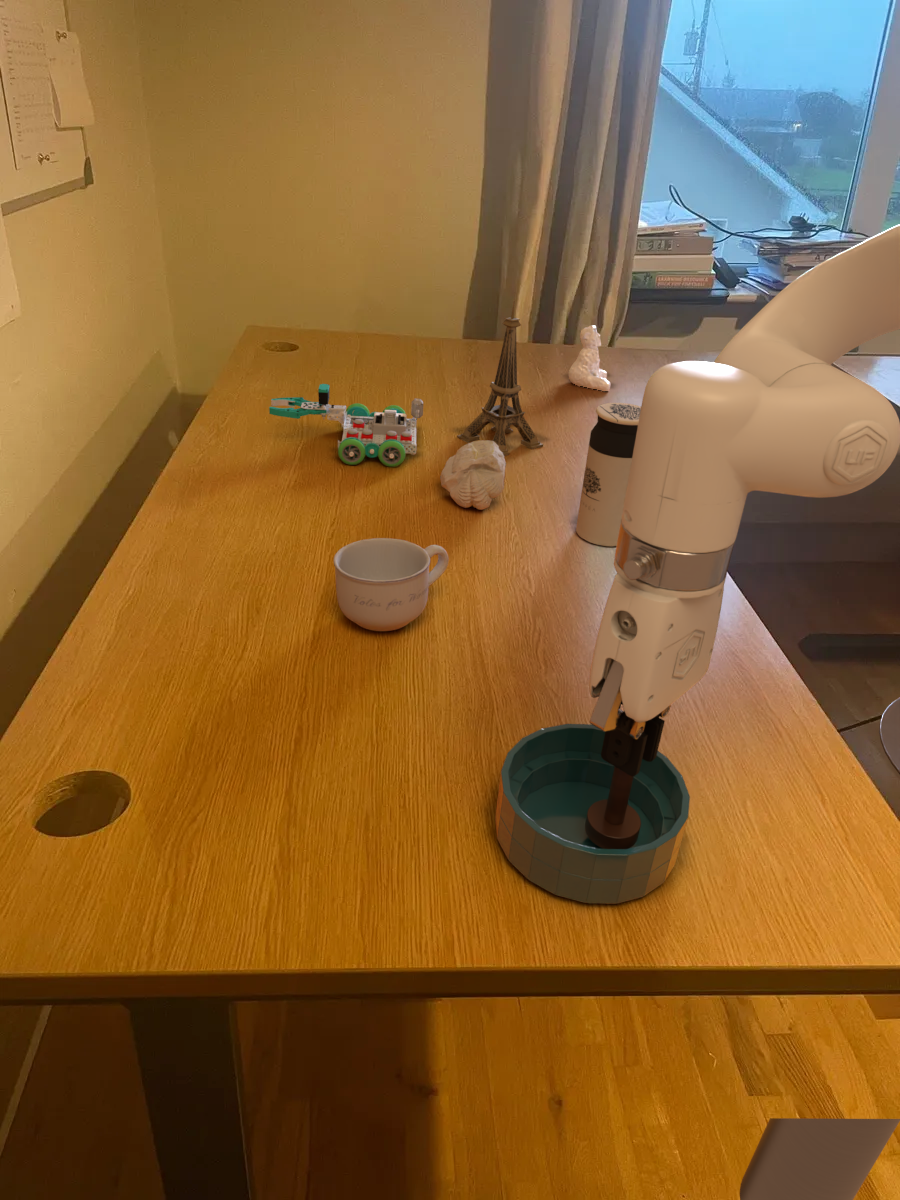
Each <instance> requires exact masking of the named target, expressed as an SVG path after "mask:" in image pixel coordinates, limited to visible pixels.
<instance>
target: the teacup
mask: <svg viewBox="0 0 900 1200" xmlns="http://www.w3.org/2000/svg"><path fill="white" fill-rule="evenodd" d="M435 555H437V557H438V558H437V562H436V564H435V566H433V568H432V569H431V570H430V565H431V559H432V557H433V556H435ZM448 565H449V554H448V552H447V551H446V549H445V548H444V547H443V546H441V545H439V544H430V545H428V546H426V547H425V548H423V547H421V546H420V545H418V544H416V543H414V542H411V541H408V540H405V539H400V538H391V537H390V538H389V537H375V538H366V539H361V540H357V541H353V542H351V543H349V544H346V545H344V546H343V547H341V548H339V550H337V552H336V553H335V554H334V556H333V566H334V572H335V575H334V576H335V577H334V578H335V591H336V599H337V604H338V607H339V609H340V611H341V612H342V614H343V615H344V616H345V617H346V618H347V619H349V620H350V621H351V622H353V623H355V624H356V625H358V626H359V627H361V628H363V629H366V630H369V631H372V632H373V631H374V632H390V631H396V630H399V629H402V628H404V627H405V626H407V625H409V624H410V623H411V622H413V621H415V620H416V619H417V618H418V617H419V616H420V615H421V614H422V613H423V612H424V610H425V608H426V607H427V602H428V597H429V588H430V586H431V585H433V584H434V583H435V582H436V581H437V580H438V579H439V578H440V577H442V575H443V574H444V573H445V572H446V570H447V568H448Z"/></svg>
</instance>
